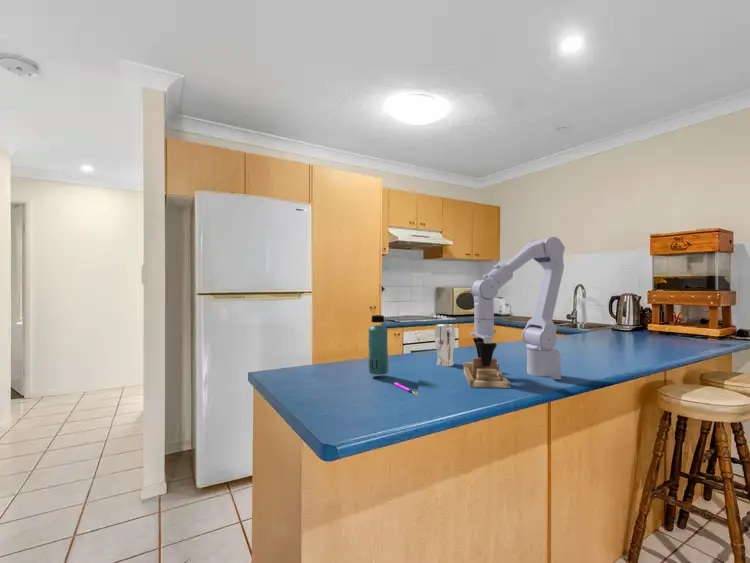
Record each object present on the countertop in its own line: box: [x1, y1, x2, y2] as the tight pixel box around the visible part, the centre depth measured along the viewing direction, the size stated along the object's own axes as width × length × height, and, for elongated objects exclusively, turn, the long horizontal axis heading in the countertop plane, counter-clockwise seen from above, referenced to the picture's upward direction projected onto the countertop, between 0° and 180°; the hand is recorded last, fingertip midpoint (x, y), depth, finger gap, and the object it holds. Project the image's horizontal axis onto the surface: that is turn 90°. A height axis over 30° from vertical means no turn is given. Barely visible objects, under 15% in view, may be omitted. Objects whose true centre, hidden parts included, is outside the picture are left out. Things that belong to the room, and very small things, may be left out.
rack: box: [463, 361, 512, 389], centre depth 116 cm, size 11×18×4 cm, turn 172°
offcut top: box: [477, 369, 497, 377], centre depth 110 cm, size 5×2×2 cm, turn 86°
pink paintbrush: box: [393, 382, 419, 397], centre depth 108 cm, size 3×1×16 cm
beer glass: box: [434, 323, 456, 367], centre depth 137 cm, size 7×7×15 cm
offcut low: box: [476, 375, 501, 381], centre depth 110 cm, size 6×2×2 cm, turn 82°
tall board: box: [471, 357, 498, 379], centre depth 117 cm, size 7×2×6 cm, turn 82°
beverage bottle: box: [367, 314, 389, 376], centre depth 124 cm, size 6×7×20 cm
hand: (484, 363), depth 117 cm, fingers open, 7 cm apart
